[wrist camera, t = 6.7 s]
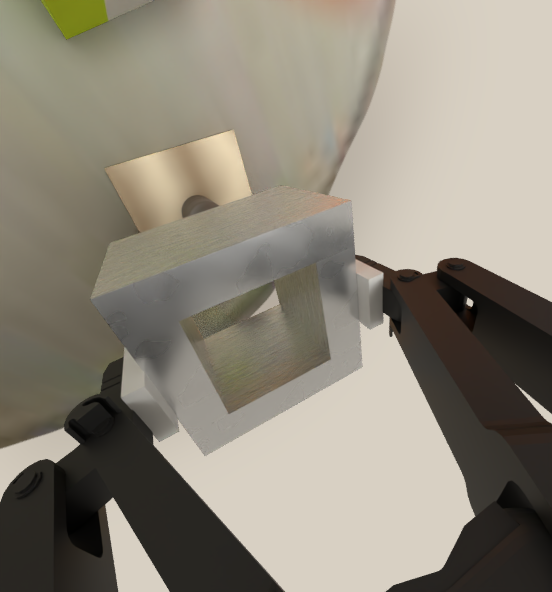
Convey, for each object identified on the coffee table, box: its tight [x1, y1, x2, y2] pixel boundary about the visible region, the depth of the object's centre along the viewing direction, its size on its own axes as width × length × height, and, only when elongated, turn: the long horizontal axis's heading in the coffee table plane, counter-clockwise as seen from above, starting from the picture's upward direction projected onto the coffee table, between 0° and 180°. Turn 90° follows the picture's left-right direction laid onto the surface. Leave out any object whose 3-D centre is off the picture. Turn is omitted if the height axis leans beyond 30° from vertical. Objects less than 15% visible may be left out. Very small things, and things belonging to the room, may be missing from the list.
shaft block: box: [104, 130, 252, 233], centre depth 24 cm, size 12×12×10 cm
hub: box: [90, 185, 362, 456], centre depth 13 cm, size 9×9×6 cm
